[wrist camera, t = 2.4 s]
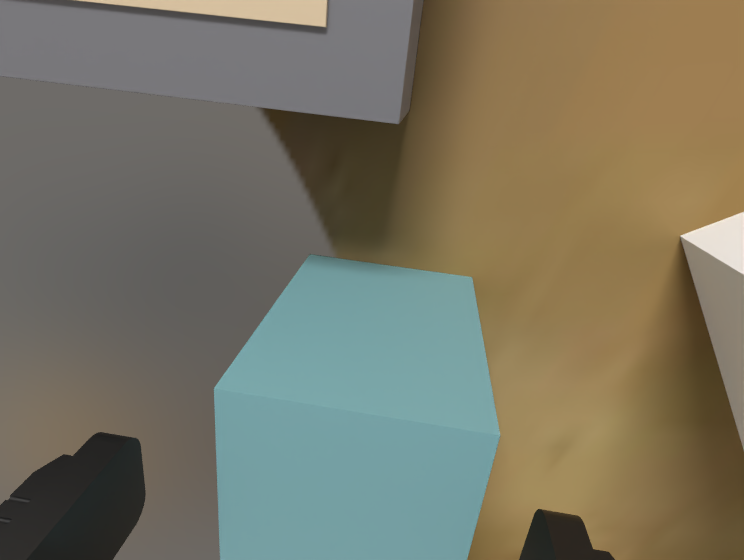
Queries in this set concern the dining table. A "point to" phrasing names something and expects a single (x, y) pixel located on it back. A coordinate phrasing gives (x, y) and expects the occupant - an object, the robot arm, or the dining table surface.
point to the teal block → (357, 419)
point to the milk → (722, 299)
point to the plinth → (224, 50)
